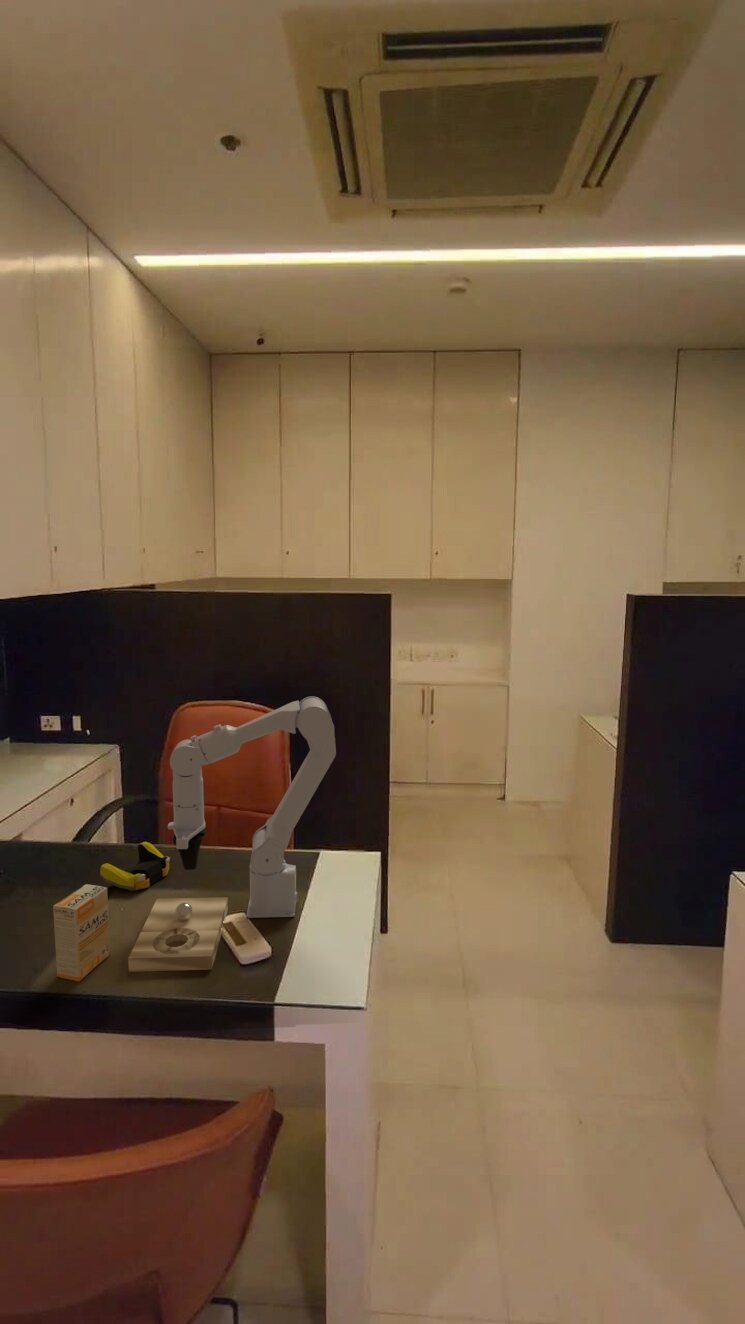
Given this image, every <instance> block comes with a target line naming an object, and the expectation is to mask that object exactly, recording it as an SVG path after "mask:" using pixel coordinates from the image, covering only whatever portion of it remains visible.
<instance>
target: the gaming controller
mask: <svg viewBox="0 0 745 1324" xmlns="http://www.w3.org/2000/svg"><path fill="white" fill-rule="evenodd" d="M137 855H138V863H137V864H135V865H134V866H132V867H131V868H129V869H127V870H126V871H125V870H123V869H121V868H118V867H116V866H114V865H112V864H110V863H103V864H102V865H101V866H100V870H99V877H100V878H101V879H102V880H103V881H104V882H105V883H107V884H108V885H109V884H110V885H112V886H115V887H117V888H118V889H119V888H120V889H124V890H128V891H129V892H137V891H139V890H144V889H146V888H147V889H148V888H150V886H152V885H154V884H155V883H156V882H158V881H159V880H161V879H163V878H164V877H167V875H168V874H169V870H170V860H171V857H169V856H168V855H167V856H164V855H163V854H162V853H161V852H160V851H159V850H158V849H157V848H156V847H155V846H154V845H153V844H152V843H150V842H147V841H143V842H140V843H139V844H138V845H137Z"/></svg>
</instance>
